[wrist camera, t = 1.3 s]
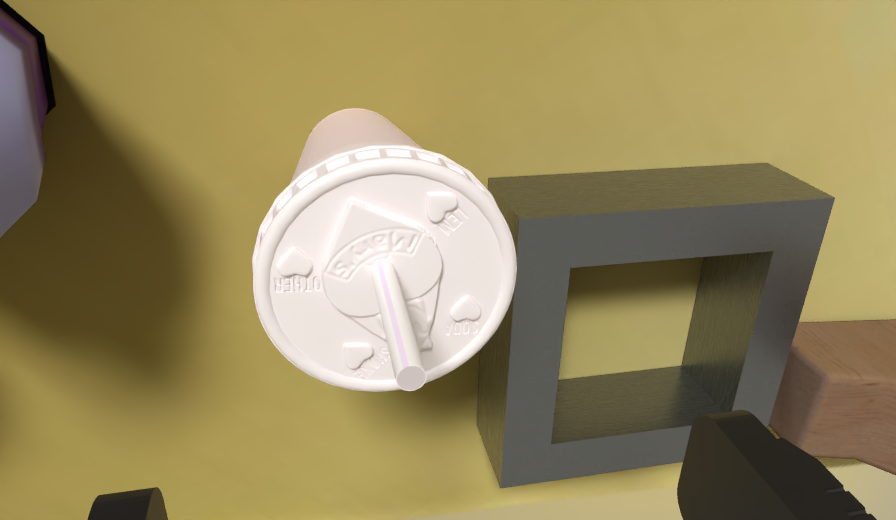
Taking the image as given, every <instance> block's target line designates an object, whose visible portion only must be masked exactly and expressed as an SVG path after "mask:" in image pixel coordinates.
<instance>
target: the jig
mask: <svg viewBox="0 0 896 520" xmlns="http://www.w3.org/2000/svg"><path fill="white" fill-rule="evenodd" d="M488 191H489V192H490V193H491V194H492V196H493V198H494V200H495V202H496V204H497V206H498V208H499V210H500V212H501V213H502V215H503V217H504V219H505V221H506V223H507V225H508V227H509V230H510V232H511V235H512V238H513V242H514V246H515V252H516V265H517V270H516V281H515V287H514V292H513V295H512V299H511V302H510V305H509V307H508V310H507V312H506V314H505V316H504V318H503V320H502V322H501V323H500V325H499V327H498V328H497V330H496V331H495V333H494V334H493V335H492V336H491V338H490V339H489V340H488V341H487V343H486V344H485V345H484V346H483V347H482V348H481V349H480V366H479V387H478V408H477V427H478V429H479V432H480V435H481V437H482V440H483V443H484V446H485V448H486V451H487V454H488V456H489V459H490V462H491V464H492V467H493V470H494V473H495V475H496V478H497V481H498V483H499V486H500V488H505V487H512V486H519V485H526V484H533V483H540V482H547V481H553V480H560V479H567V478H574V477H581V476H588V475H595V474H602V473H608V472H615V471H622V470H629V469H636V468H643V467H650V466H656V465H663V464H670V463H677V462H683V461H684V457H685V452H686V448H687V444H688V440H689V435H690V431H691V427H692V424H693V422H694V420H695V419H696V417H698V416H700V415H706V414H714V413H721V412H728V411H736V410H747V411H749V412H751V413H752V414H753V415H754V416H756V417H757V418H758V419H759V421H760V422H761V423H762V424H763V425H764V426H765V427H766V428H767V427H768V424H769V420H770V417H771V414H772V410H773V407H774V403H775V400H776V397H777V393H778V390H779V386H780V383H781V380H782V376H783V373H784V369H785V366H786V363H787V359H788V356H789V352H790V349H791V346H792V342H793V339H794V335H795V332H796V329H797V325H798V322H799V318H800V315H801V312H802V308H803V305H804V301H805V298H806V295H807V291H808V288H809V284H810V281H811V278H812V274H813V271H814V267H815V264H816V261H817V257H818V254H819V250H820V247H821V244H822V240H823V237H824V233H825V230H826V227H827V223H828V220H829V216H830V213H831V210H832V206H833V203H834V199H835V198H834V197H833V196H831V195H829V194H827V193H825V192H823V191H821V190H819V189H817V188H815V187H813V186H811V185H809V184H807V183H805V182H803V181H801V180H799V179H798V178H796V177H794V176H792V175H790V174H788V173H786V172H784V171H782V170H780V169H778V168H776V167H774V166H772V165H770V164H768V163H757V164H739V165H721V166H703V167H684V168H666V169H648V170H629V171H611V172H593V173H574V174H556V175H538V176H519V177H501V178H488ZM697 257H705V258H704V263H703V267H702V272H701V277H700V282H699V286H698V291H697V296H696V301H695V305H694V310H693V315H692V320H691V324H690V329H689V334H688V339H687V343H686V348H685V353H684V358H683V362H682V366H676V367H668V368H659V369H650V370H642V371H633V372H624V373H616V374H607V375H599V376H590V377H581V378H573V379H564V380H558V375H559V366H560V358H561V349H562V340H563V331H564V322H565V313H566V304H567V295H568V286H569V277H570V268H576V267H588V266H600V265H612V264H624V263H636V262H648V261H660V260H672V259H684V258H697Z"/></svg>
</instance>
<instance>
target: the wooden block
mask: <svg viewBox="0 0 896 520" xmlns="http://www.w3.org/2000/svg"><path fill="white" fill-rule="evenodd" d="M768 425H769V426H770V427H771V428H772V429H773V430H774V431H775V433H776V434H777V435H778V436H779V437H780V438H784V439H786V440H787V441H789V442H791V443H792V444H794V445H795V446H797V447H799V448H800V449H802V450H803V451H805V452H807V453H808V454H810V455H811V456H813V457H827V458H846V459H856V460H859V461H861V462H864V463H866V464H869V465H872V466H874V467H877V468H879V469H881V470H884V471H886V472H889V473H892V474H894V475H896V319H894V320H863V321H832V322H801V323H798V325H797V329H796V332H795V335H794V339H793V342H792V346H791V349H790V352H789V356H788V359H787V363H786V366H785V369H784V373H783V376H782V380H781V383H780V386H779V390H778V393H777V397H776V400H775V403H774V407H773V410H772V414H771V417H770V420H769V424H768Z"/></svg>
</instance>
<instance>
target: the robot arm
mask: <svg viewBox="0 0 896 520" xmlns="http://www.w3.org/2000/svg"><path fill="white" fill-rule="evenodd" d="M677 496H678V504H679V508H680V511H681V515H682V517H683V520H876V518H875V517H874V516H873V515H871V514H867V513H866V511H865V507H864V506H863V505H862V504H861V503H860V502H859V501H858V500H857V499H856V498H855V497H854V496H853V495H852V494H851V493H850V492H849V491H847V492H845V490H844V489H843V485H842V484H841V483H840V482H839V481H838V480H837V479H836V478H835V477H834V476H833V475H832V474H831V473H830V472H829V471H828V470H827V469H826V468H825V466H824V465H823V464H822V463H821V462H820V461H819V460H818V459H816V458H815V457H813V456H811V455H810V454H808V453H807V452H805V451H803V450H802V449H800V448H799V447H797V446H795V445H794V444H792V443H791V442H789V441H787V440H786V439H784V438H780V439H776V438H775V436H774V435H773V434H772V433H771V432H770V431H769V430H768V429H767V428H766V427H765V426H764V425H763V424H762V423H761V422H760V421H759V419H758V418H757V417H756V416H754V415H753V414H752V413H751V412H749V411H747V410H736V411H728V412H721V413H714V414H706V415H700V416H698V417H696V419H695V420H694V422H693V424H692V427H691V431H690V435H689V440H688V444H687V448H686V452H685V457H684V461H683V465H682V469H681V474H680V478H679V482H678V488H677ZM88 520H168V518H167V513H166V509H165V504H164V500H163V496H162V493H161V491H160V489H159V488H158V487H156V488H149V489H141V490H134V491H126V492H119V493H112V494H104V495H99V496H97V498H96V499H95V501H94V502H93V505H92V507H91V511H90V514H89V517H88Z"/></svg>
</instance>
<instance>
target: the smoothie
mask: <svg viewBox="0 0 896 520" xmlns="http://www.w3.org/2000/svg"><path fill="white" fill-rule="evenodd" d="M252 264H253V290H254V298H255V304H256V308H257V312H258V315H259V318H260V320H261V323H262V325H263V327H264V329H265V331H266V333H267V335H268V336H269V338H270V339H271V341H272V342H273V344H274V345H275V346H276V347H277V349H278V350H279V351H280V352H281V353H282V354H283V355H284V356H285V357H286V358H287V359H288V360H289V361H290V362H291V363H293V364H294V365H295V366H296V367H298V368H299V369H301V370H302V371H304V372H305V373H307V374H309V375H310V376H312V377H314V378H316V379H318V380H321V381H323V382H326V383H328V384H331V385H334V386H338V387H341V388H346V389H351V390H358V391H371V392H380V391H394V390H401V389H402V390H405V391H413V390H417V389H419V388H420V387H422V386H423V385H424V383H427V382H430V381H433V380H435V379H437V378H439V377H441V376H444V375H446V374H447V373H449V372H451V371H453V370H454V369H456V368H457V367H459V366H460V365H462V364H463V363H465V362H466V361H467V360H469V359H470V358H471V357H472V356H474V355H475V354H476V353H477V352H478V351H479V350H480V349H481V348H482V347H483V346H484V345H485V344H486V343H487V341H488V340H489V339H490V338H491V336H492V335H493V334H494V333H495V331H496V330H497V328H498V327H499V325H500V323H501V322H502V320H503V318H504V316H505V314H506V312H507V310H508V307H509V305H510V302H511V299H512V295H513V292H514V287H515V281H516V270H517V265H516V252H515V246H514V242H513V238H512V235H511V232H510V230H509V227H508V225H507V223H506V221H505V219H504V217H503V215H502V213H501V212H500V210H499V208H498V206H497V204H496V202H495V200H494V198H493V196H492V194H491V193H490V192H489V191H488V190H487V189H486V188H485V186H484V185H483V184H482V183H481V182H480V181H479V180H478V179H477V178H476V177H475V176H474V175H473V174H472V173H471V172H470V171H469V170H467V169H466V168H464V167H462V166H460V165H459V164H457V163H455V162H454V161H452V160H450V159H448V158H447V157H445V156H443V155H442V154H439V153H435V152H431V151H427V150H424V149H423V148H422V147H420V146H419V145H418V144H417V143H416V142H414V141H413V140H412V139H411V138H409V137H408V136H407V135H406V134H405V133H403V132H402V131H401V130H400V129H399V128H397V127H396V126H395V125H394V124H393V123H391V122H390V121H389V120H388V119H386V118H385V117H384V116H382V115H380V114H378V113H376V112H373V111H370V110H367V109H360V108H350V109H344V110H340V111H337V112H334V113H332V114H330V115H329V116H327V117H325V118H324V119H323V120H321V121H320V122H319V123H318V124H317V125H316V126H315V127H314V129H313V130H312V132H311V133H310V135H309V137H308V139H307V141H306V144H305V147H304V149H303V152H302V155H301V157H300V160H299V163H298V165H297V168H296V170H295V173H294V176H293V178H292V181H291V184H290V185H289V186H288V187H287V188H286V189H285V190H284V191H283V192H282V193H281V194H280V195H279V196H278V197H277V198H276V199H275V201H274V203H273V205H272V206H271V208H270V210H269V212H268V213H267V215H266V217H265V218H264V220H263V222H262V224H261V225H260V227H259V232H258V236H257V240H256V244H255V249H254V253H253V257H252Z"/></svg>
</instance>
